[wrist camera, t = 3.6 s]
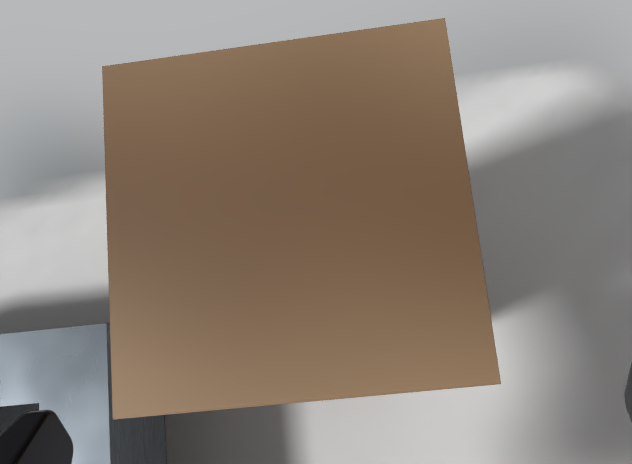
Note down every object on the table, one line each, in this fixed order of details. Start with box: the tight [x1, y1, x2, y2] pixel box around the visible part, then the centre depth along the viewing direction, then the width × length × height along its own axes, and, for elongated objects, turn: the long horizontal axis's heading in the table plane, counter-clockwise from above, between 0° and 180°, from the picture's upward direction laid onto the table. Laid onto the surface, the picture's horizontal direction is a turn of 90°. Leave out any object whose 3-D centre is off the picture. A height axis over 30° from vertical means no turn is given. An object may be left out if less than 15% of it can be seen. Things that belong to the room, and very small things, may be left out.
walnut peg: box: [102, 18, 501, 419], centre depth 13 cm, size 4×4×13 cm
